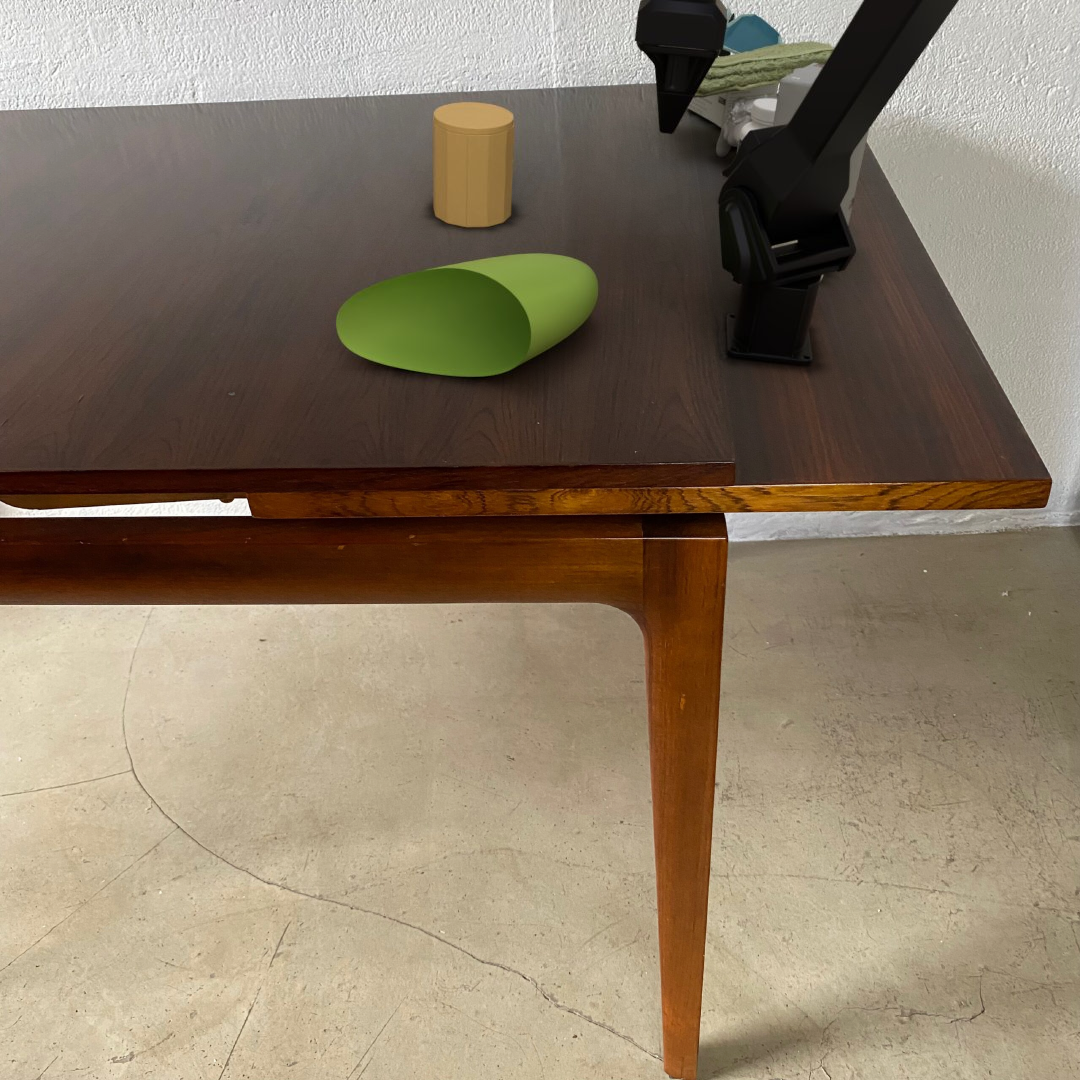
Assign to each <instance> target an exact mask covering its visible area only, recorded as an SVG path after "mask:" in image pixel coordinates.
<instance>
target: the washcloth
mask: <svg viewBox="0 0 1080 1080" xmlns="http://www.w3.org/2000/svg"><path fill="white" fill-rule="evenodd" d="M834 48H835V46H832V44H831V43H829V42H826V43H822V42H820V41H814V40H810V41H805V40H804V41H800V42H791V43H783V44H779V45H772V46H767V47H764V48H759V49H756V50H753V51H748V52H747V51H746V52H743V53H740V54H731V55H729V56H724V57H719V56H718V58H716V59H715V61H714V63H713V65H712V66H711V68H710V70H709V71H708V73H707V75H706V77H705V78H704V80H703V82H702V83H701V85H700V87H699V89H698V90H697V92H696V94H695V95H694V97H693V98H697V97H700V98H703V97H707V96H712V95H719V94H723V93H728V92H731V91H745V90H747V89H749V88H755V87H760V86H763V85H772V84H775V83H779V84H780V80H781V79H782V78H784V77H786V76H788V75H790V74H792V73H794V69H797V68H804V67H806V66H808V65H810V64H812V63H819V64H825V62H826V61H827V59H828V58H829V56H830V54H831V53H832V51H833V49H834Z"/></svg>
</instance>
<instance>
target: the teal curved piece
mask: <svg viewBox="0 0 1080 1080" xmlns="http://www.w3.org/2000/svg"><path fill="white" fill-rule="evenodd" d="M726 9H727V27H726V33H725V39H724V45H723V49H721V51H720V54H719V56H718V57H724V56H729V55H732V54H733V55H735V54H740V53H743V52H746V51H747V52H748V51H753V50H756V49H759V48H764V47H767V46H772V45H779V44H784V41H783V38H782V34H781V33H779V32H778V31H777V30H776V29H775V28H774V27H773V26H772V25H770V24H769V22H767V21H766V20H765V19H763V18H762V17H760V16H759V15H757V14H755V13H741V14H739V15H738V16H736V15H735V12H733V13H732V9H731V8H730V7H726Z"/></svg>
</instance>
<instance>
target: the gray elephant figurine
mask: <svg viewBox="0 0 1080 1080" xmlns="http://www.w3.org/2000/svg"><path fill="white" fill-rule="evenodd" d="M777 97H778V95H776V96H773V97H768V96H767V95H764V96H763V97H761V96H758V98H757V99H763V98H770V99H777ZM757 99H753V100H749V101H748V100H747V99H746V98H745V97H742V98H738V99H737V100H735V101H734V102H733V105H732V108H733V110H732V112H731V111H730V112H729V113H730V115H731V116H729V117H728V120H727V122H726V123H725V124H724V125H723V126H722V128H721V127H720V128H721V129H720V134H719V136H718V139H717V142H716V148H715V153H716V155H717V156H718V157H725V156H726V155H727V154H728V153H729V152H730V150H731V148H732V147H731V146H735V147H738V143H739V137H740V132H741V129H742V128H743V126H744V125H746V124H747V123H749V122H752V118H751V111H752V106H753V102H754V101H755V100H757ZM735 147H734V148H735Z"/></svg>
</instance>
